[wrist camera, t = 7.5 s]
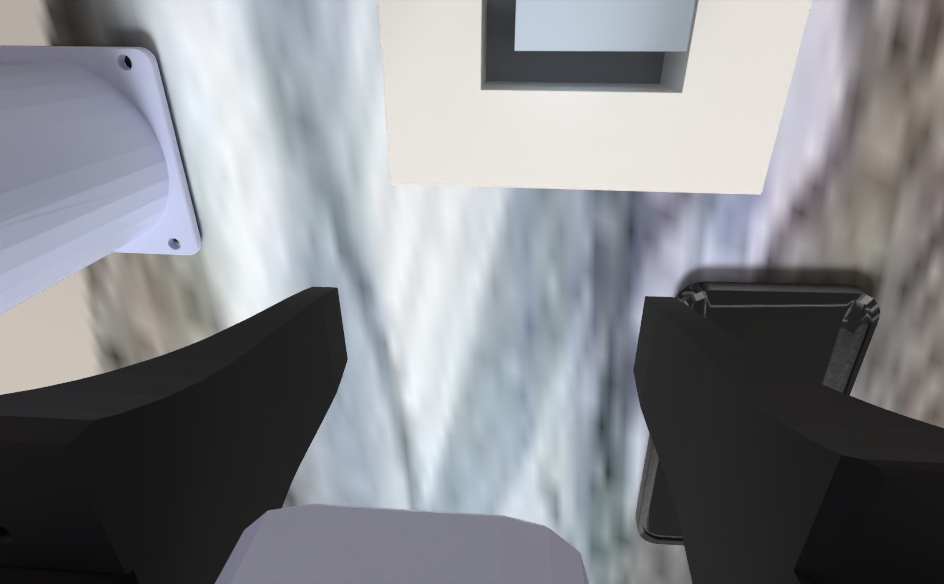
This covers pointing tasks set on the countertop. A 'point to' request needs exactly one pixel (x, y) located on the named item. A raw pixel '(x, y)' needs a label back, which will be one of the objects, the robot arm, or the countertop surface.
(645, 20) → the block
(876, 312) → the phone
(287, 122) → the countertop surface
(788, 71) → the block
